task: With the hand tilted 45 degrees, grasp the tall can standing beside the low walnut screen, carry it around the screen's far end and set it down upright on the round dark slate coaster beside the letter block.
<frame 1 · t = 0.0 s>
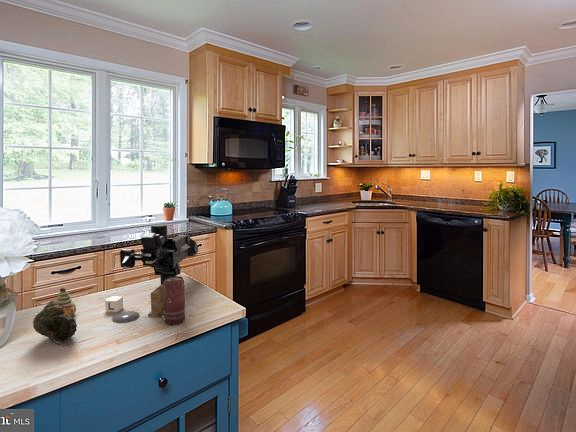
hand: (136, 265, 118), 17 cm above the counter, tool horizontal, fingers open, 9 cm apart
screen: (160, 311, 123), on the counter
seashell: (56, 341, 102), on the counter
coaster: (125, 317, 118), on the counter
can: (175, 322, 115), on the counter
letter block: (114, 309, 125), on the counter
ornament: (61, 318, 117), on the counter
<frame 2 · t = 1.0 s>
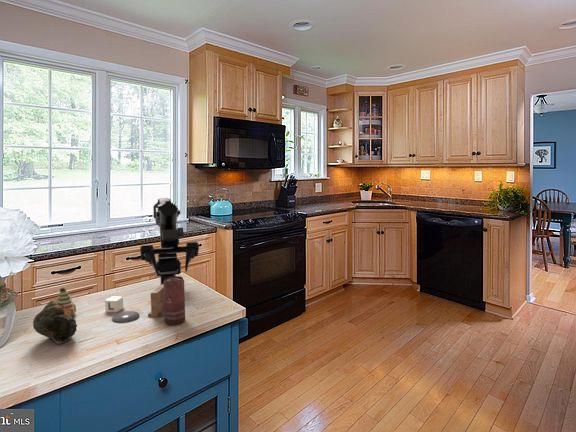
hand: (171, 272, 121), 14 cm above the counter, tool tilted 45°, fingers open, 9 cm apart
nothing on the counter moved.
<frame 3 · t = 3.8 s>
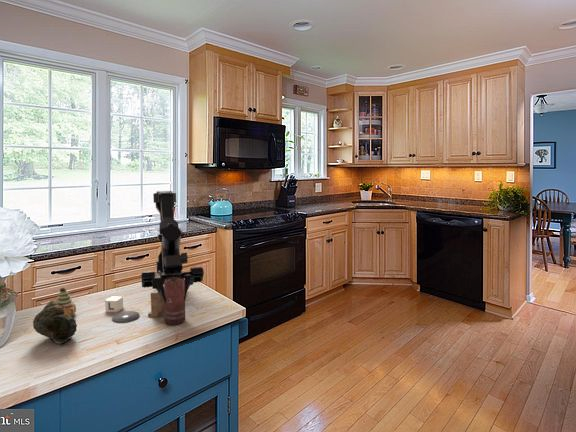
hand: (175, 301, 113), 7 cm above the counter, tool tilted 45°, fingers closed on can, 5 cm apart
can: (175, 322, 115), on the counter, touching gripper
everything else where it was.
when the fingers open (9 cm above the counter, at t = 7.3 s): can stays where it is, resting on coaster.
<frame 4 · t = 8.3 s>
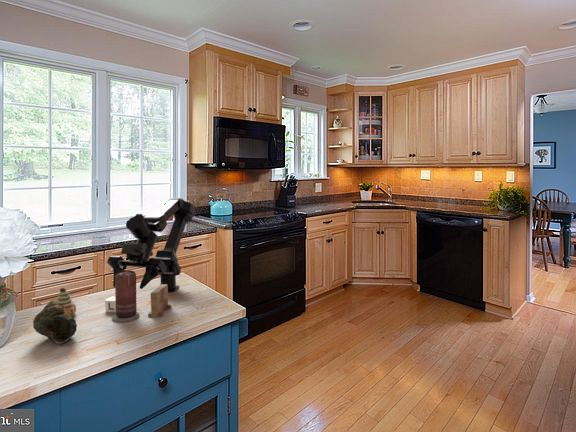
hand: (127, 287, 118), 9 cm above the counter, tool tilted 45°, fingers open, 9 cm apart
can: (126, 315, 119), resting on coaster
everything else where it was.
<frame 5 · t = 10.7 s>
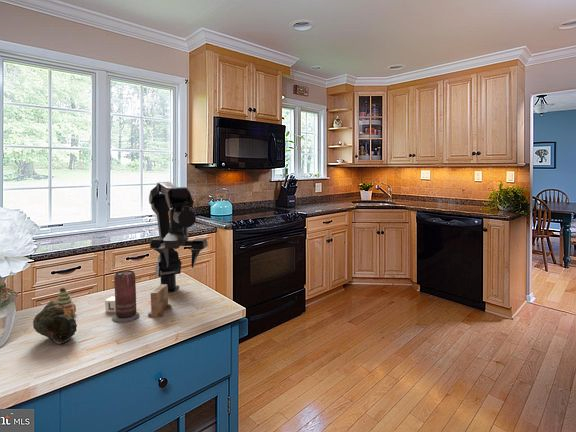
hand: (179, 267, 130), 13 cm above the counter, tool pointing down, fingers open, 9 cm apart
nothing on the counter moved.
at the end: can inside the target area on the coaster (0.5 cm from its centre), point 0.4 cm above the coaster's base; can tilted 2°; the gripper is holding nothing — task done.
